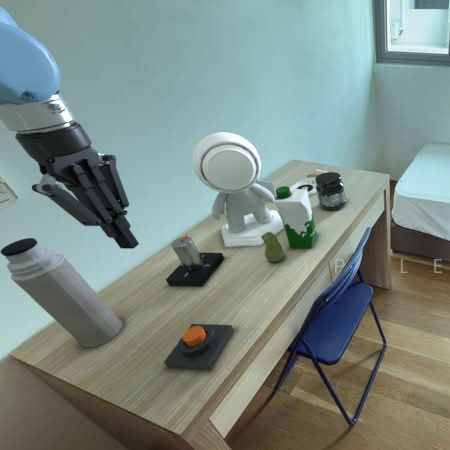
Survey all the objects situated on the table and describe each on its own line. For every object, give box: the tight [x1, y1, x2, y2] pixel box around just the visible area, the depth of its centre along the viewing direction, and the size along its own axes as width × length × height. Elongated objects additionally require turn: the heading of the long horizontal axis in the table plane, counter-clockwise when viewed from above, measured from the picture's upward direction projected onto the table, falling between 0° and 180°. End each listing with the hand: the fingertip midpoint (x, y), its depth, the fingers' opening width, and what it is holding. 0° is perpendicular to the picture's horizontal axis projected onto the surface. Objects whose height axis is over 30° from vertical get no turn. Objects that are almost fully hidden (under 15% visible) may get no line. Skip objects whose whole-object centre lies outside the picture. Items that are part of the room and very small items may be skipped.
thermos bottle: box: [0, 237, 123, 348], centre depth 68 cm, size 8×8×28 cm
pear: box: [261, 232, 284, 263], centre depth 93 cm, size 6×5×10 cm
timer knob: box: [170, 235, 204, 271], centre depth 89 cm, size 5×5×9 cm
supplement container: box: [315, 171, 347, 211], centre depth 119 cm, size 10×10×12 cm
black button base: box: [163, 323, 235, 371], centre depth 70 cm, size 10×10×4 cm
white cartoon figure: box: [191, 131, 285, 248], centre depth 100 cm, size 20×23×35 cm
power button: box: [182, 326, 206, 347], centre depth 69 cm, size 4×4×2 cm
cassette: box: [255, 178, 277, 200], centre depth 127 cm, size 12×2×8 cm, turn 67°
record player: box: [289, 169, 327, 197], centre depth 135 cm, size 12×3×20 cm
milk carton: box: [273, 185, 318, 249], centre depth 97 cm, size 9×9×20 cm
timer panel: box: [165, 251, 225, 288], centre depth 92 cm, size 12×10×3 cm
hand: (130, 246), depth 61 cm, fingers closed
